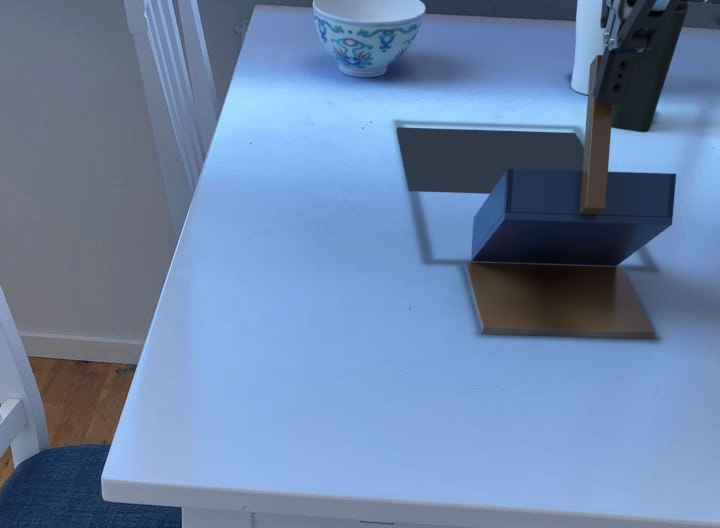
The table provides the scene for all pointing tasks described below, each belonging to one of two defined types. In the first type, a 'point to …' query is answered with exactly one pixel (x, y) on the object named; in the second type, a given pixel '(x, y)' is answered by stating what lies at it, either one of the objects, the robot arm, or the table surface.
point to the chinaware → (367, 32)
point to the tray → (574, 206)
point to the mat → (481, 156)
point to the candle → (649, 77)
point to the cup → (587, 42)
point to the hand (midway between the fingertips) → (607, 101)
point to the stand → (555, 301)
